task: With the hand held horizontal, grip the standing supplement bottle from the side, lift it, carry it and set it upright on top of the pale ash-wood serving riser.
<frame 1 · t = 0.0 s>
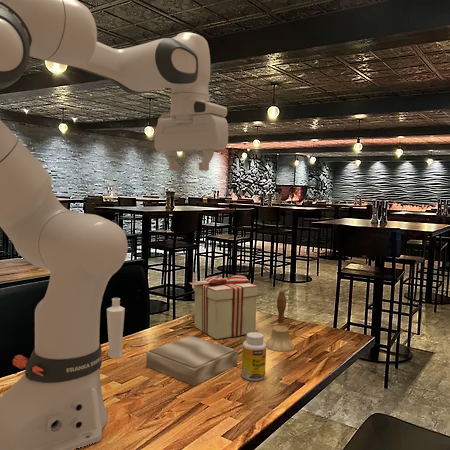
hand: (188, 170, 101), 48 cm above the table, tool pointing down, fingers open, 8 cm apart
supplement bottle: (253, 377, 103), on the table
riser: (192, 365, 108), on the table
hand bell: (279, 347, 124), on the table
gift box: (220, 329, 138), on the table
perfume bottle: (114, 356, 113), on the table
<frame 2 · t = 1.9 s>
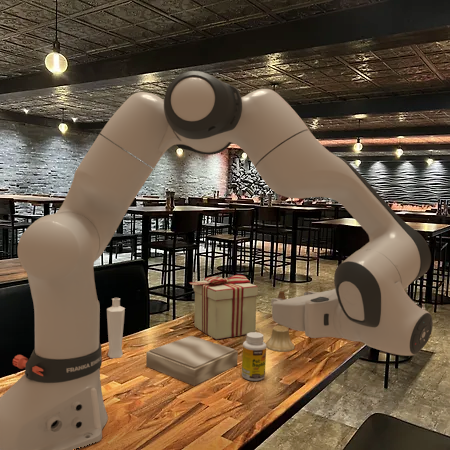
hand: (290, 298, 92), 21 cm above the table, tool horizontal, fingers open, 8 cm apart
nothing on the table moved.
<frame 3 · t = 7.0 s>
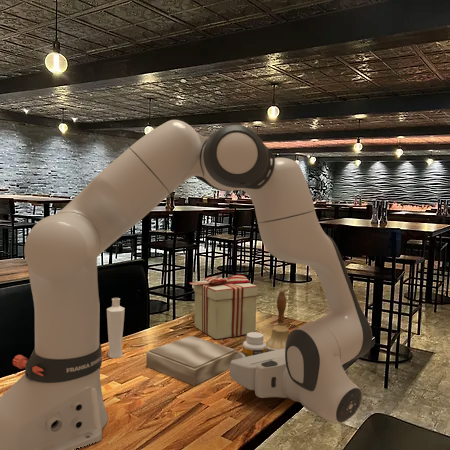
hand: (251, 352, 103), 6 cm above the table, tool horizontal, fingers closed on supplement bottle, 6 cm apart
supplement bottle: (253, 377, 103), on the table, touching gripper
everything else where it was.
when the fingers open (11 cm above the table, at t = 12.5 s): supplement bottle drops 1 cm, resting on riser.
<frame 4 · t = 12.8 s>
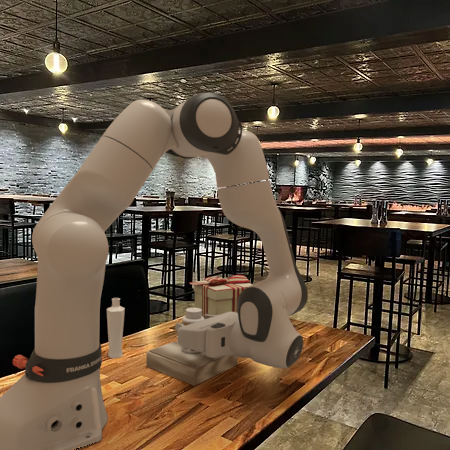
hand: (190, 321, 108), 11 cm above the table, tool horizontal, fingers open, 8 cm apart
supplement bottle: (192, 350, 108), point 4 cm above the table, touching riser
everything else where it was.
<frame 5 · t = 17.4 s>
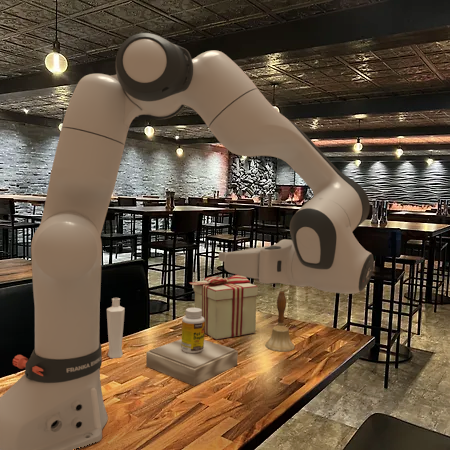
hand: (234, 253, 95), 30 cm above the table, tool horizontal, fingers open, 8 cm apart
nothing on the table moved.
at the end: supplement bottle inside the target area on the riser (0.1 cm from its centre), point 3.8 cm above the riser's base; supplement bottle tilted 0°; the gripper is holding nothing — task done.
